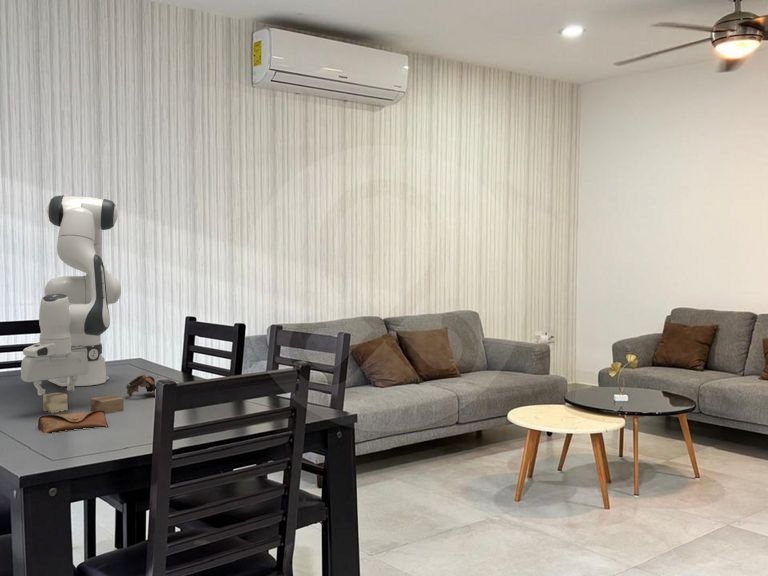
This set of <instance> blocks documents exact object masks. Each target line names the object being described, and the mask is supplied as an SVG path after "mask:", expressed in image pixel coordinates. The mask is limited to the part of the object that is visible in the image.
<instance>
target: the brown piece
mask: <svg viewBox="0 0 768 576" xmlns="http://www.w3.org/2000/svg"><path fill="white" fill-rule="evenodd" d="M139 387H141V388H145V390H146V393H152V394H153V397H154V396H155V389H156V388H157V385H156V380H155V378H154V377H153V376H151V375H148V376H147V375H146V374H142V375H139V376H137V377H136V378H133V380H131V381H130V382H129V383H128V384H127V385H126V386H125V388H126V389H127V390H126V394H127V395H128V396H129V397H132V395H133V393H134V392H137V393H139Z"/></svg>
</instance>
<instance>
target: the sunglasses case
mask: <svg viewBox="0 0 768 576" xmlns="http://www.w3.org/2000/svg"><path fill="white" fill-rule="evenodd" d="M106 426H109V424H108V421H107V419H106V414H105V412H104V411H102V410H97V411H87V412H85V411H84V412H83V411H82V412H73V413H63V414H44V415H41V416H40V417H39V419H38V423H37V428H39V429H38V430H39V431H40V430H41V431H42V432H43V433H49V434H53V433H52V432H57V433H60V432H59V431H65V430H74V429H83V428H93V429H95V428H94V427H105V428H107V427H106ZM83 430H84V429H83ZM41 431H40V432H41ZM74 431H75V430H74ZM42 432H41V433H42ZM65 432H66V431H65ZM43 433H42V434H43Z"/></svg>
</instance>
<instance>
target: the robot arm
mask: <svg viewBox="0 0 768 576" xmlns="http://www.w3.org/2000/svg"><path fill="white" fill-rule="evenodd" d="M46 209H47V216H48V220H49V222H50V223H51V224H52V225H54V226H57V227H59V230H58V235H57V243H56V253H57V256H58V257H59V259H60V260H61V262H63V263H64V264H65V265H67V266H69V267H71V268H73V269H75V270H77V271H80V272H83V273H85V275H74V276H73V275H69V276H68V275H67V276H66V275H65V276H58V277H54V278H50V279H49V280H48V281H47V283H46V285H45V288H44V296H43V297H42V298H41V300H40V304H39V313H38V320H39V321H38V323H39V328H40V335H39V341H38V342H36V343H34V344H32V345H30V346H27V347H25V348H24V349H23V350H22V354H23V356H24V357H23V358H22V360H21V365H20V378H21V380H22V381H23V382H26V383H31V382H33V385H34V387H35V388H36V390H37V396H39V397H40V396H43V395H45V394H46V389H45V388H43V387H42V383H43V381H47V380H48V382H50V383H52V384H54V385H57V386H59V387H66V391H68V392H72V391H75V387H84V386H85V387H87V386H94V385H101V384H105V383H106V382H107V381H108V379H109V380H110V377H109V376H108V375H107V370H106V359H105V357H103V355H102V354H103V344H102V343H101V341H102V340H101V339H102V338H101V335H102V334H103V333H105V332H106V331H107V330H108V329H109V327H110V325H111V324H110V323H111V318H110V315H111V314H110V310H109V305H112V304H116V303H117V302H118V301H119V299H120V297H121V294H122V287H121V283H120V282H119V281H118V280H117V278H116V277H114V276H112V275H111V274H110V273H109V272H108V270H107V269H106V267H105V265H104V262H103V253H102V252H103V251H102V249H103V248H102V247H103V246H102V244H103V231H106V230H107V231H108V230H111V229H112V228H113V227H114V226H115V224H117V220H118V215H119V214H118V209H117V207H116V204H115V202H114V201H112V200H109V199H107V198H104V199H103V198H97V197H93V196H79V195H78V196H77V195H76V196H75V195H74V196H70V195H68V196H65V195H54V196H53V197H52V198H51V199H50V201H49V203H48V206H47V208H46Z"/></svg>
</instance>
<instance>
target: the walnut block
mask: <svg viewBox="0 0 768 576" xmlns="http://www.w3.org/2000/svg"><path fill="white" fill-rule="evenodd" d="M124 407H125V406H124V398H123V397H119V396H116V395H114V394H110V395H105V396H98V397H91V398H90V411H91V410H92V411H97V410H102V411H104V412H105V413H106V414H111V413H110V412H112V413H117V412H116V411H118V412H123V411H124V410H125V408H124ZM92 411H91V412H92Z"/></svg>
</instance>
